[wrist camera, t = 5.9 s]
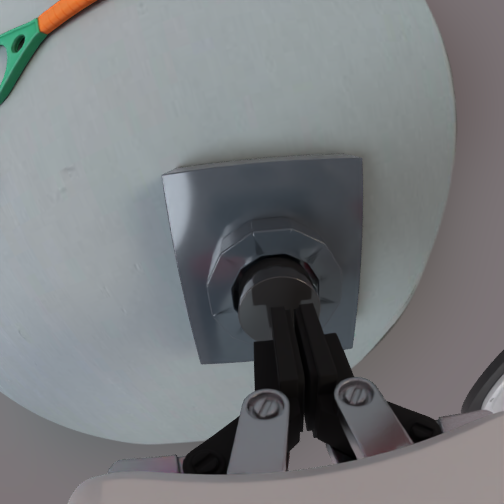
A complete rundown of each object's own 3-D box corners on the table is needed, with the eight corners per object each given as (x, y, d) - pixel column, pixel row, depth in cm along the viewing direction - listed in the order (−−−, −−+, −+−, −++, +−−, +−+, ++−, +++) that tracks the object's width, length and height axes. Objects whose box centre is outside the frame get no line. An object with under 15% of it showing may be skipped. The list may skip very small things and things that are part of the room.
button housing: (343, 153, 16) (379, 161, 12) (340, 323, 21) (361, 368, 16) (174, 168, 17) (148, 181, 12) (205, 337, 21) (197, 386, 16)
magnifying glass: (-21, 127, 14) (-34, 129, 12) (-29, 71, 12) (-42, 71, 10) (131, 11, 12) (122, 2, 11) (114, -42, 10) (105, -52, 9)
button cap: (311, 253, 14) (321, 272, 12) (311, 316, 15) (319, 341, 13) (234, 260, 14) (233, 281, 12) (242, 323, 15) (242, 349, 13)
